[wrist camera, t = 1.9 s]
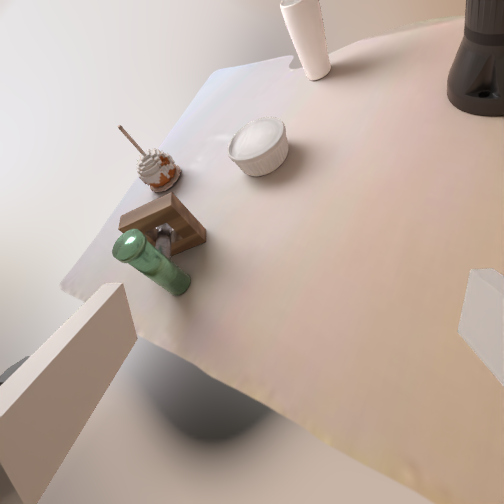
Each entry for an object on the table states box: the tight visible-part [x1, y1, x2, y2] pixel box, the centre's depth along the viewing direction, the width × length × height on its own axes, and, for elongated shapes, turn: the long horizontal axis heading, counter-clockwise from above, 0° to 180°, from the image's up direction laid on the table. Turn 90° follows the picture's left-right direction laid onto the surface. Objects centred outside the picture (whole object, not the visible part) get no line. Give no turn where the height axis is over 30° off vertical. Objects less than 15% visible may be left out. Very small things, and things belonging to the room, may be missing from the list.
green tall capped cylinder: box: [112, 223, 190, 295], centre depth 51 cm, size 15×5×12 cm, turn 8°
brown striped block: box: [118, 192, 206, 256], centre depth 54 cm, size 3×10×10 cm, turn 98°
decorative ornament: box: [118, 125, 181, 193], centre depth 67 cm, size 8×8×15 cm
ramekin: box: [227, 117, 289, 176], centre depth 59 cm, size 11×11×5 cm
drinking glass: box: [280, 0, 331, 80], centre depth 63 cm, size 7×7×15 cm
